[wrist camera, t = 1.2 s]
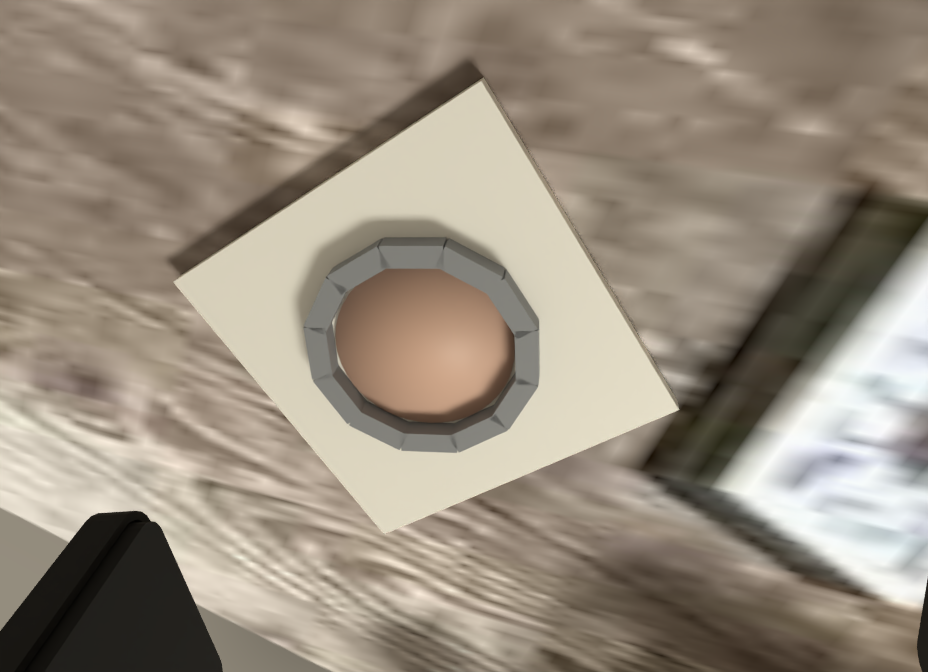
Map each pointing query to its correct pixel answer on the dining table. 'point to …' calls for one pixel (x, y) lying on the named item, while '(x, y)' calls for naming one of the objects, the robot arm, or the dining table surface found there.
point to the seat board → (432, 318)
